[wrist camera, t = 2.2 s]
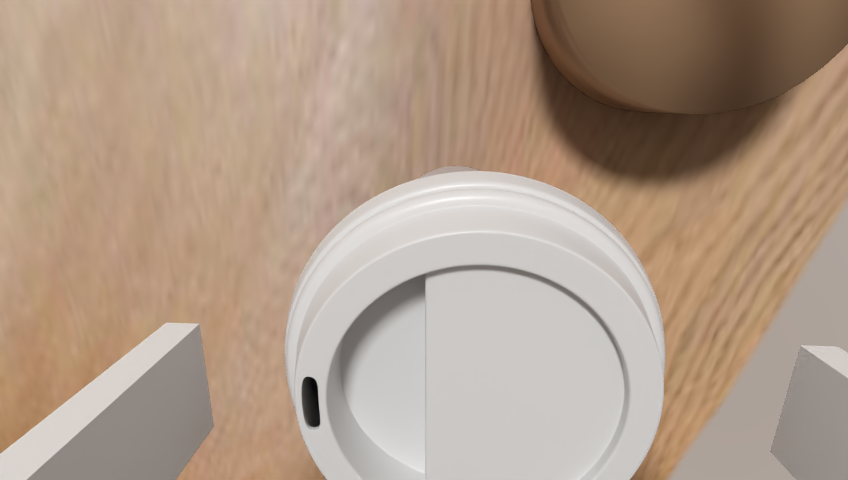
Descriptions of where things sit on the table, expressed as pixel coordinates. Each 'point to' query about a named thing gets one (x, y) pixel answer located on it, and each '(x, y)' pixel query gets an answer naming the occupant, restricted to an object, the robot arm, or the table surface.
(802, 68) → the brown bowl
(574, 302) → the coffee cup
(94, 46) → the table surface
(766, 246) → the table surface
